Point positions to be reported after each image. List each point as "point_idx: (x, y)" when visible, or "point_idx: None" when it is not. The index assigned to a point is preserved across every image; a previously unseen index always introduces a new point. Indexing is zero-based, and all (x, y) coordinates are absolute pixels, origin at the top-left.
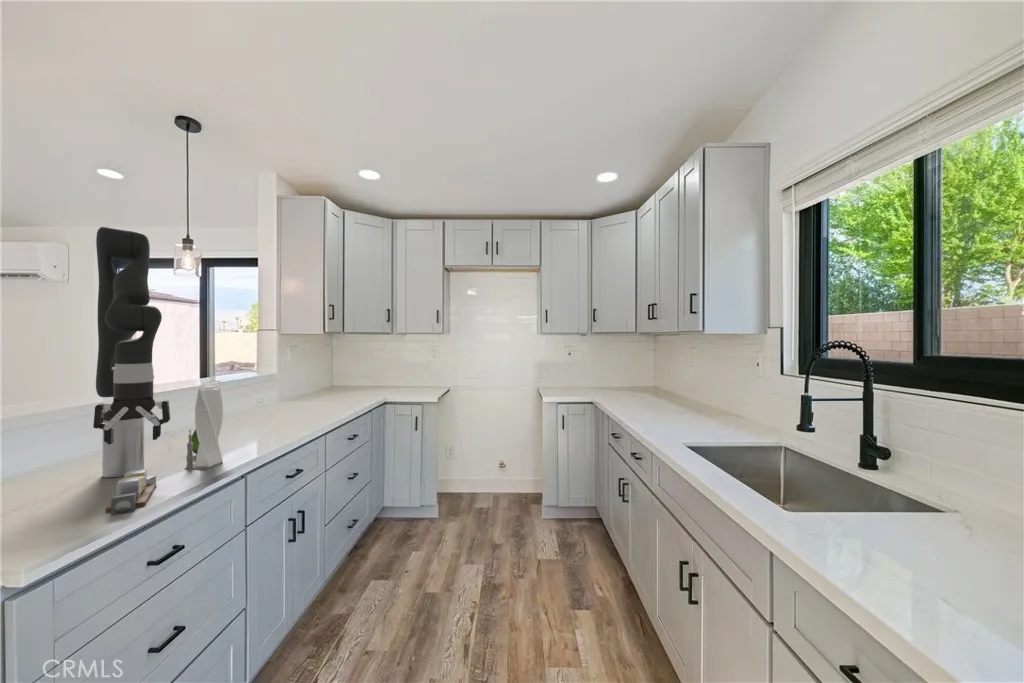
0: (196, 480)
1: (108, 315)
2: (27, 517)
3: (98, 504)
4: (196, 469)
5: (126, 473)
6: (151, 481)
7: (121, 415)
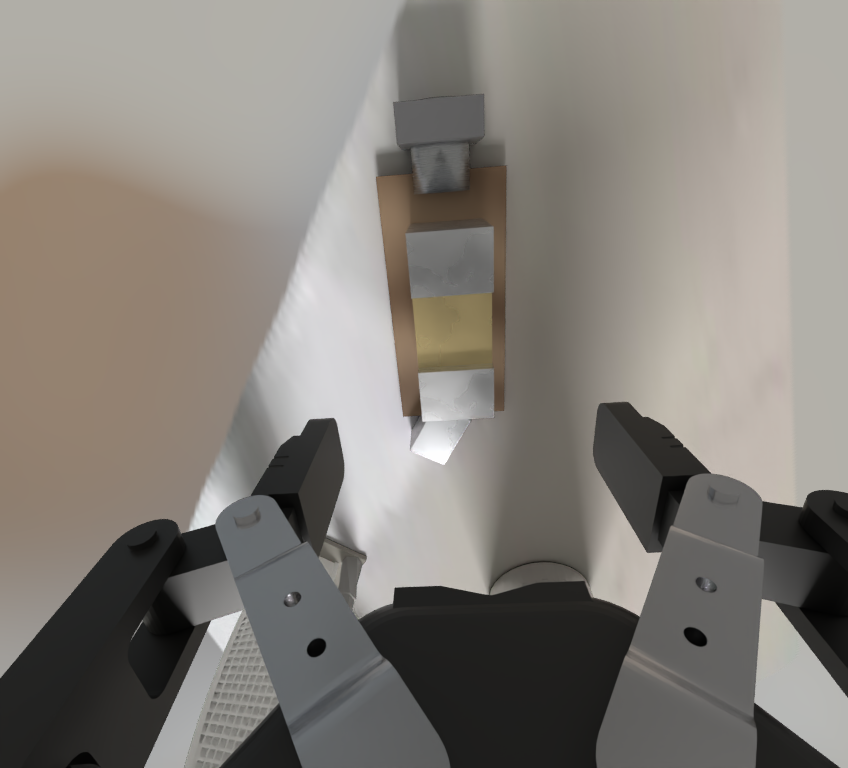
0: (283, 417)
1: None
2: (739, 264)
3: (547, 294)
4: (326, 538)
5: (489, 391)
6: (419, 426)
7: (657, 629)
